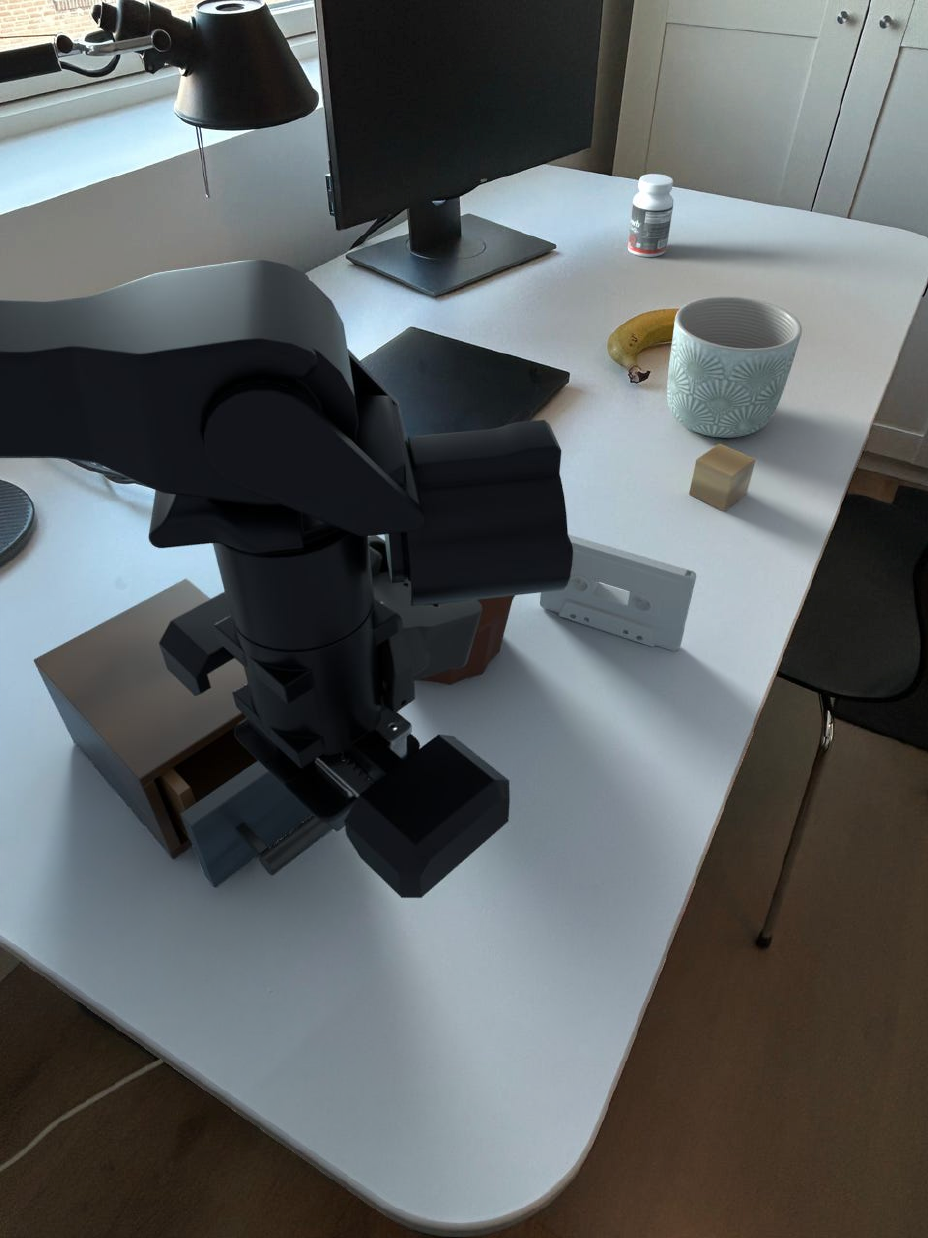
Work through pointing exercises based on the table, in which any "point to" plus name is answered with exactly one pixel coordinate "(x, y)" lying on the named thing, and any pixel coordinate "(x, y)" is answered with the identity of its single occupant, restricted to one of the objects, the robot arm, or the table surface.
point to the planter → (730, 364)
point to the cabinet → (139, 704)
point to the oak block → (721, 476)
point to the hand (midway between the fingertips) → (340, 821)
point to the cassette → (624, 594)
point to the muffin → (481, 641)
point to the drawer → (236, 810)
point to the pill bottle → (651, 216)
